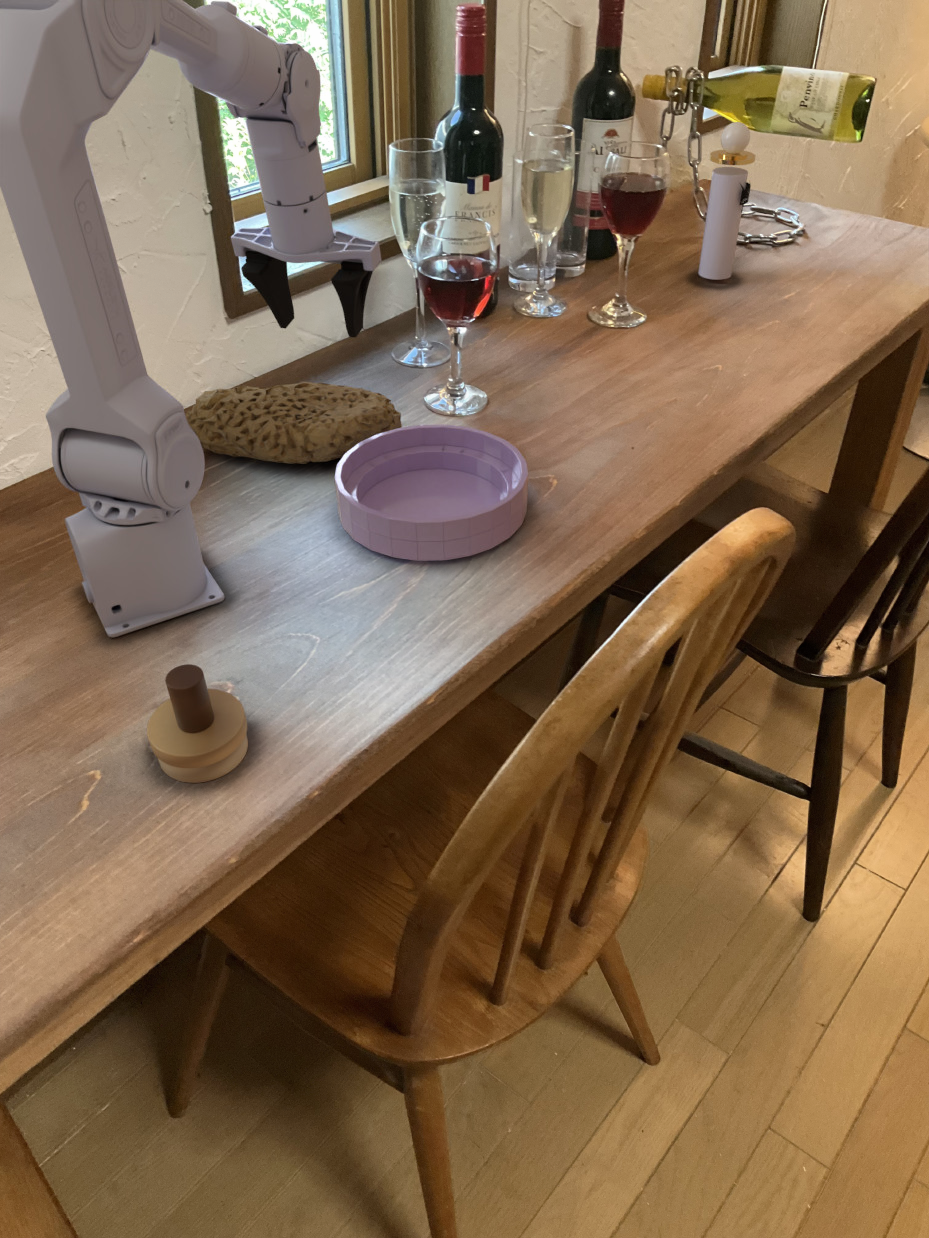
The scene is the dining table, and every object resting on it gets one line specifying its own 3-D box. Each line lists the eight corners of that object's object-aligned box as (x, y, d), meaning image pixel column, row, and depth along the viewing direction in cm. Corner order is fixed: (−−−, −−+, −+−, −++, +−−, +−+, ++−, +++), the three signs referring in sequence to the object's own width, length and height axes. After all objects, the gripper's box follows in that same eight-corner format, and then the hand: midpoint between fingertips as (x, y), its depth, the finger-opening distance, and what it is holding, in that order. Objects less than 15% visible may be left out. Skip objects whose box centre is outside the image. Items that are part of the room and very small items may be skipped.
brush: (172, 799, 62) (149, 725, 58) (144, 738, 67) (121, 665, 62) (265, 761, 65) (249, 687, 60) (232, 704, 69) (215, 632, 65)
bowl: (393, 589, 80) (389, 544, 77) (310, 496, 91) (304, 454, 88) (563, 528, 86) (565, 485, 83) (465, 449, 98) (465, 409, 95)
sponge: (188, 476, 97) (354, 478, 88) (168, 398, 94) (339, 393, 85) (266, 441, 107) (421, 440, 98) (251, 370, 104) (410, 362, 95)
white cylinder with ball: (690, 284, 133) (712, 126, 121) (695, 270, 138) (717, 116, 125) (733, 288, 132) (759, 128, 119) (736, 274, 136) (762, 118, 124)
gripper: (385, 178, 87) (402, 314, 97) (243, 167, 90) (274, 299, 100) (354, 214, 82) (376, 353, 92) (206, 200, 86) (243, 335, 96)
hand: (321, 327), depth 96 cm, fingers open, 7 cm apart
